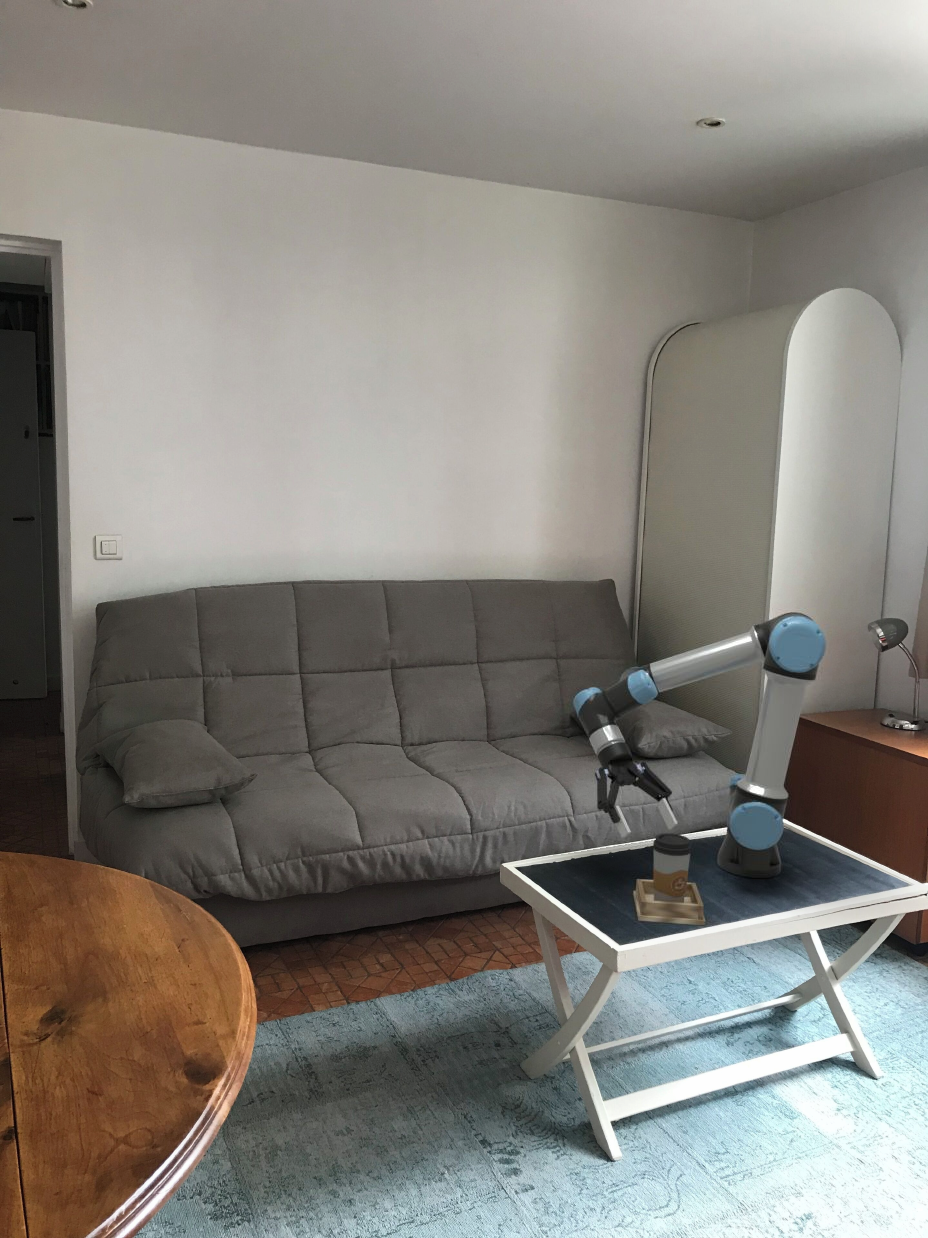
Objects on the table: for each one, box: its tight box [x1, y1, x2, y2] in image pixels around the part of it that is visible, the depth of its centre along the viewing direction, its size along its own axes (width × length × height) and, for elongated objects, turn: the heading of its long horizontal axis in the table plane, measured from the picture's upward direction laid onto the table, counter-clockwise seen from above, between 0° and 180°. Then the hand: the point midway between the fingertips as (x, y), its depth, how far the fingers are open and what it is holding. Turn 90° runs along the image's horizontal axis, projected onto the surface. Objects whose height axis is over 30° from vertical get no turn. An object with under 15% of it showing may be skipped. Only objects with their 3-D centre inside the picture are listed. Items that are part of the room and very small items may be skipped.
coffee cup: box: [652, 832, 693, 903], centre depth 217 cm, size 8×8×15 cm
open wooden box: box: [632, 878, 706, 926], centre depth 218 cm, size 14×14×4 cm
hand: (650, 831), depth 221 cm, fingers open, 13 cm apart
